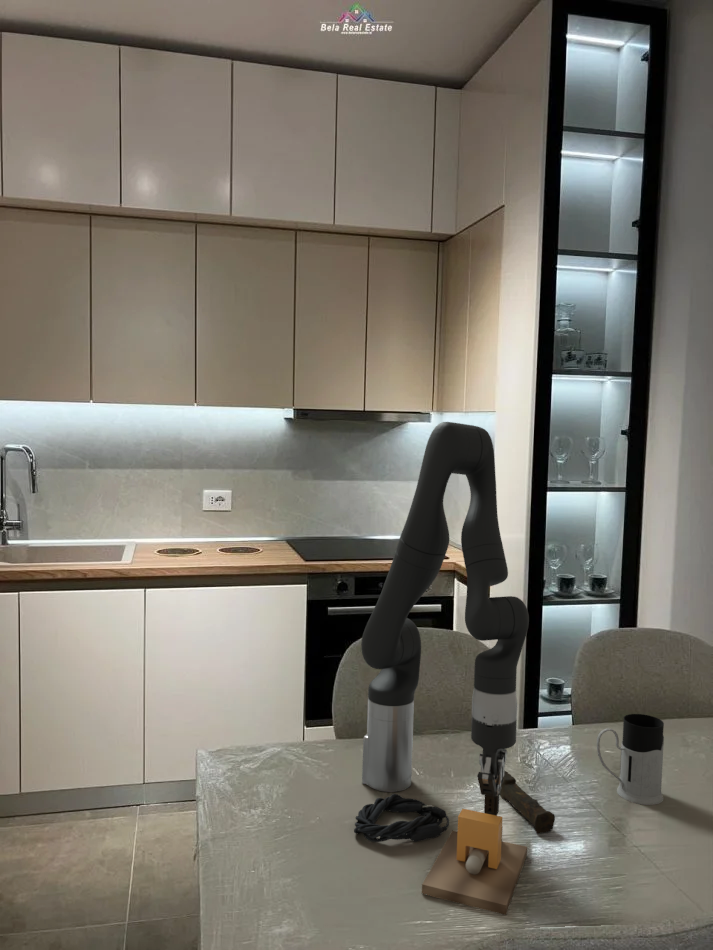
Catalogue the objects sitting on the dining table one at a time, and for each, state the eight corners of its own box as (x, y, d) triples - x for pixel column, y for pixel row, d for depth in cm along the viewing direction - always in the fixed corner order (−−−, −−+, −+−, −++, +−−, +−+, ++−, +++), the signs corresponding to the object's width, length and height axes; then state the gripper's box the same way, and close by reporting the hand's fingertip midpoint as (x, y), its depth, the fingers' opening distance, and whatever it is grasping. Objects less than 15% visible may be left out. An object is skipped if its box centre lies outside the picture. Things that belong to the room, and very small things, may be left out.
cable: (369, 857, 133) (370, 831, 132) (335, 818, 145) (336, 795, 145) (456, 837, 140) (457, 813, 140) (417, 802, 153) (418, 780, 152)
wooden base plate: (421, 893, 122) (422, 867, 122) (452, 838, 139) (452, 815, 138) (505, 915, 117) (507, 888, 117) (526, 855, 134) (527, 831, 134)
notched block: (456, 859, 129) (458, 816, 128) (461, 850, 131) (462, 808, 131) (496, 869, 126) (498, 825, 126) (500, 859, 129) (502, 816, 128)
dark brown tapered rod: (555, 833, 142) (556, 808, 142) (535, 835, 141) (536, 810, 141) (507, 786, 160) (508, 764, 160) (489, 788, 159) (490, 765, 159)
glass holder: (672, 803, 155) (676, 727, 154) (606, 808, 152) (609, 731, 151) (647, 783, 163) (650, 711, 162) (583, 787, 160) (587, 715, 159)
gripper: (480, 699, 142) (478, 794, 142) (463, 724, 129) (460, 827, 130) (523, 705, 139) (520, 801, 140) (509, 731, 127) (506, 837, 127)
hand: (491, 814), depth 135 cm, fingers closed
